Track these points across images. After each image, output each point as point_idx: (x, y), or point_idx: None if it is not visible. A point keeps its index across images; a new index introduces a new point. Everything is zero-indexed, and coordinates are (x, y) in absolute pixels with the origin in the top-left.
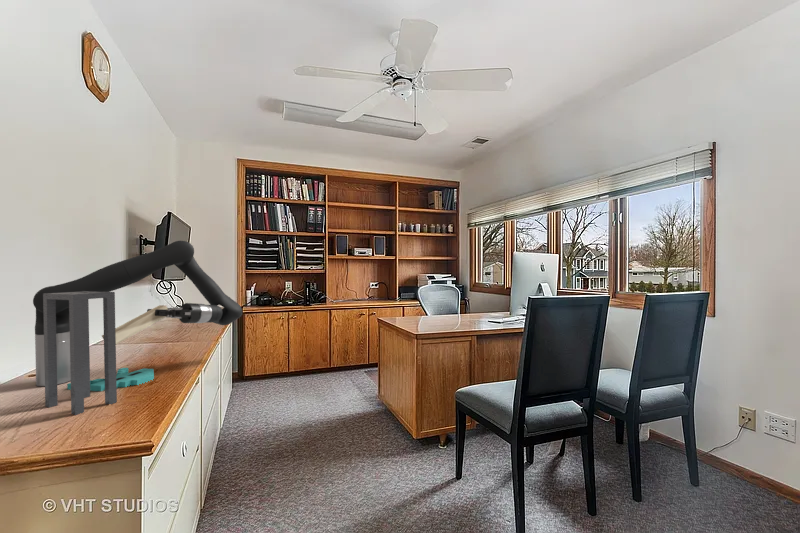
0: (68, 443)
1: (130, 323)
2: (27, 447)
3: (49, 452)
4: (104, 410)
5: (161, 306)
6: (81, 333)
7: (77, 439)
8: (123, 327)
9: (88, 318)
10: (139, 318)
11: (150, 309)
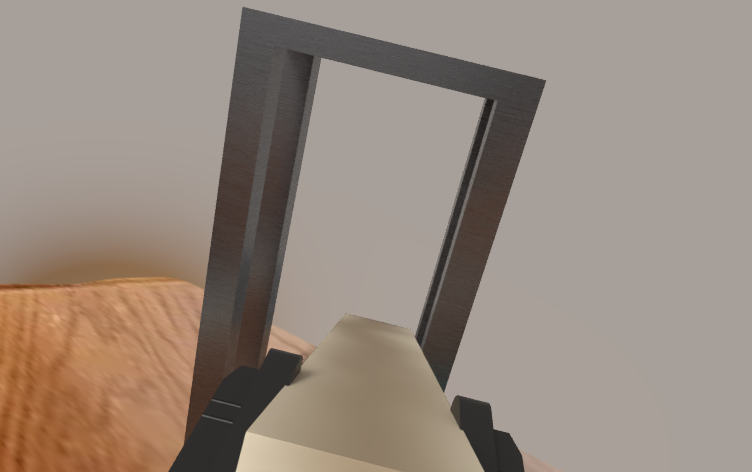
0: (113, 300)
1: (357, 336)
2: (186, 298)
3: (123, 284)
4: (170, 422)
5: (347, 436)
6: (266, 175)
7: (106, 309)
8: (355, 327)
9: (460, 223)
10: (358, 350)
11: (459, 415)
